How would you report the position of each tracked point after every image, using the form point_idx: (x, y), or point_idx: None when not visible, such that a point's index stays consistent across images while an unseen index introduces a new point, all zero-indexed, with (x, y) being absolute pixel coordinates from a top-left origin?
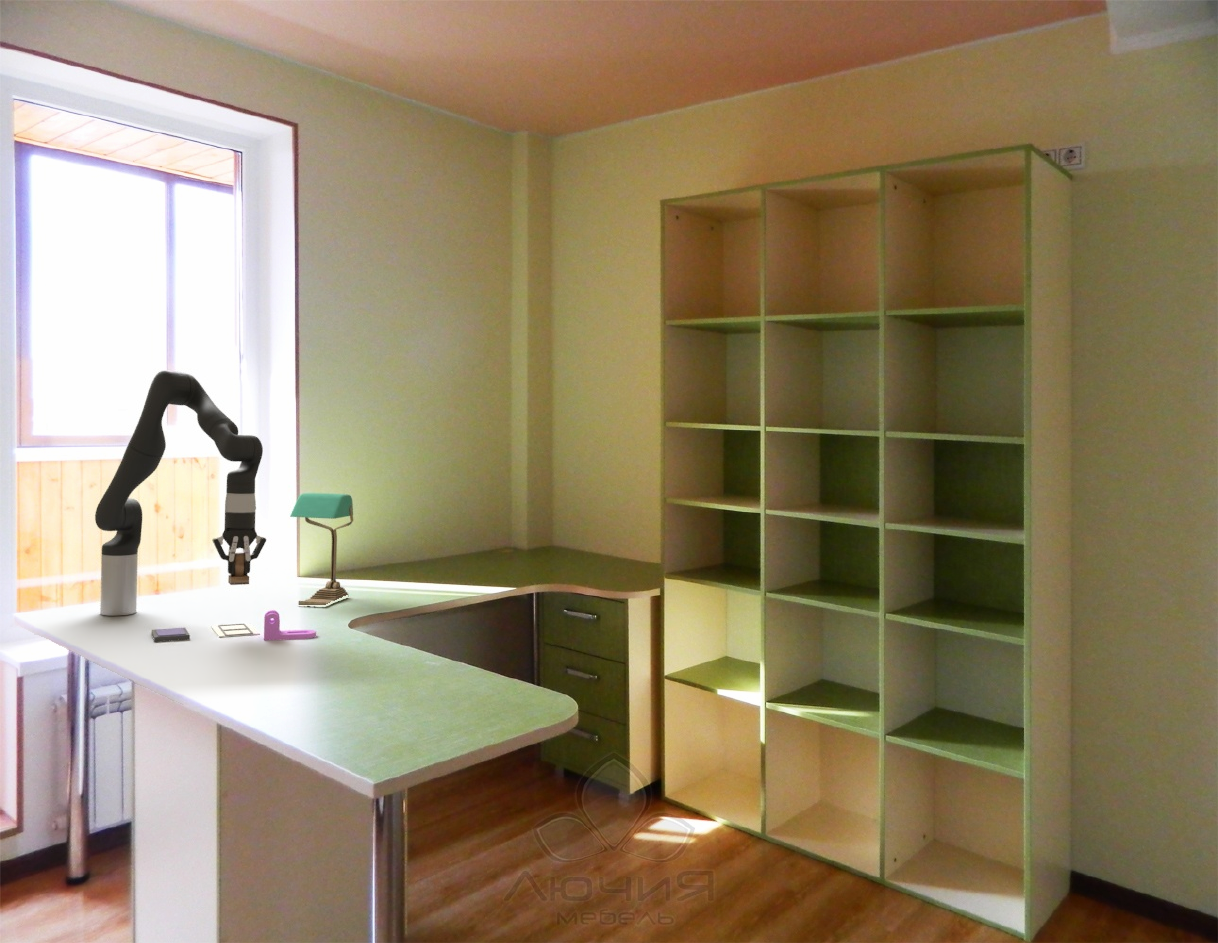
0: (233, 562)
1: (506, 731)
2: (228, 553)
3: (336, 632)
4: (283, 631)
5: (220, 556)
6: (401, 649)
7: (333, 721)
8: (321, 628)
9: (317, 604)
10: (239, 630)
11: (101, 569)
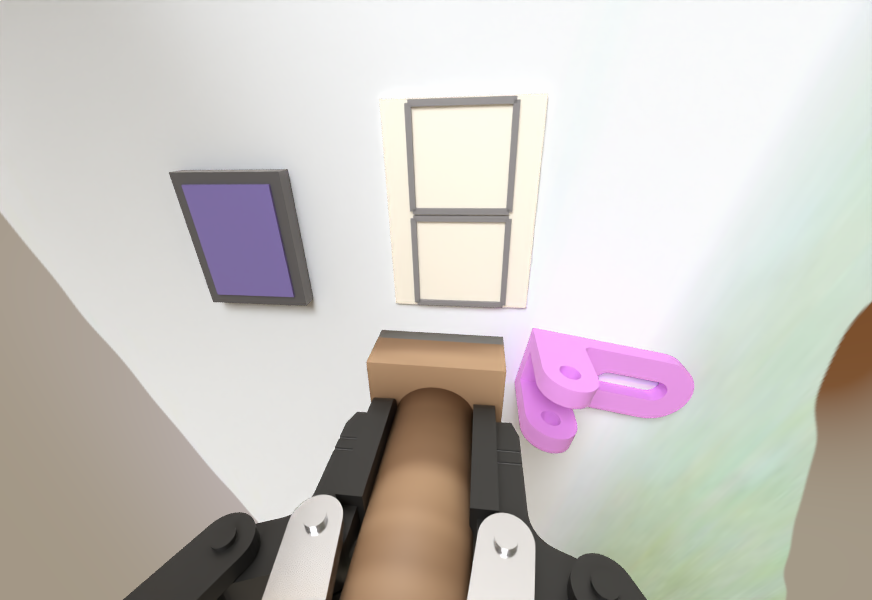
0: None
1: None
2: (267, 591)
3: (778, 364)
4: (592, 362)
5: (204, 550)
6: (775, 570)
7: None
8: (780, 282)
9: None
10: (473, 232)
11: None
